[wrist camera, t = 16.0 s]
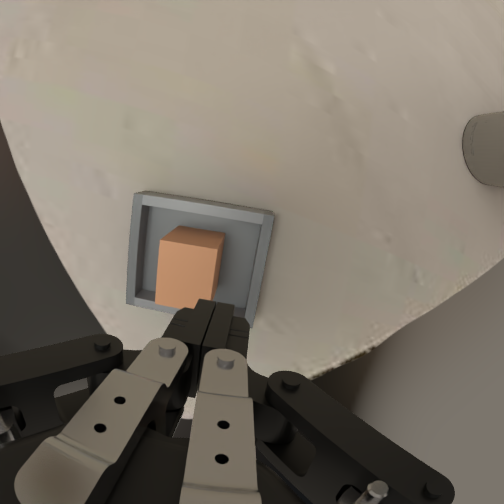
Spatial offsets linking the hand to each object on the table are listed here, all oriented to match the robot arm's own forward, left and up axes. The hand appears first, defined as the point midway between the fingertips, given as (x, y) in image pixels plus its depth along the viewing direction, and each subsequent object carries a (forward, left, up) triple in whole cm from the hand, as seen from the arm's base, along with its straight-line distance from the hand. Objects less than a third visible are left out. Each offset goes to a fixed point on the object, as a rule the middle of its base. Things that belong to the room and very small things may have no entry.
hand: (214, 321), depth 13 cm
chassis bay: (+4, +4, -22) cm, 23 cm away
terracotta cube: (+4, +4, -21) cm, 22 cm away
